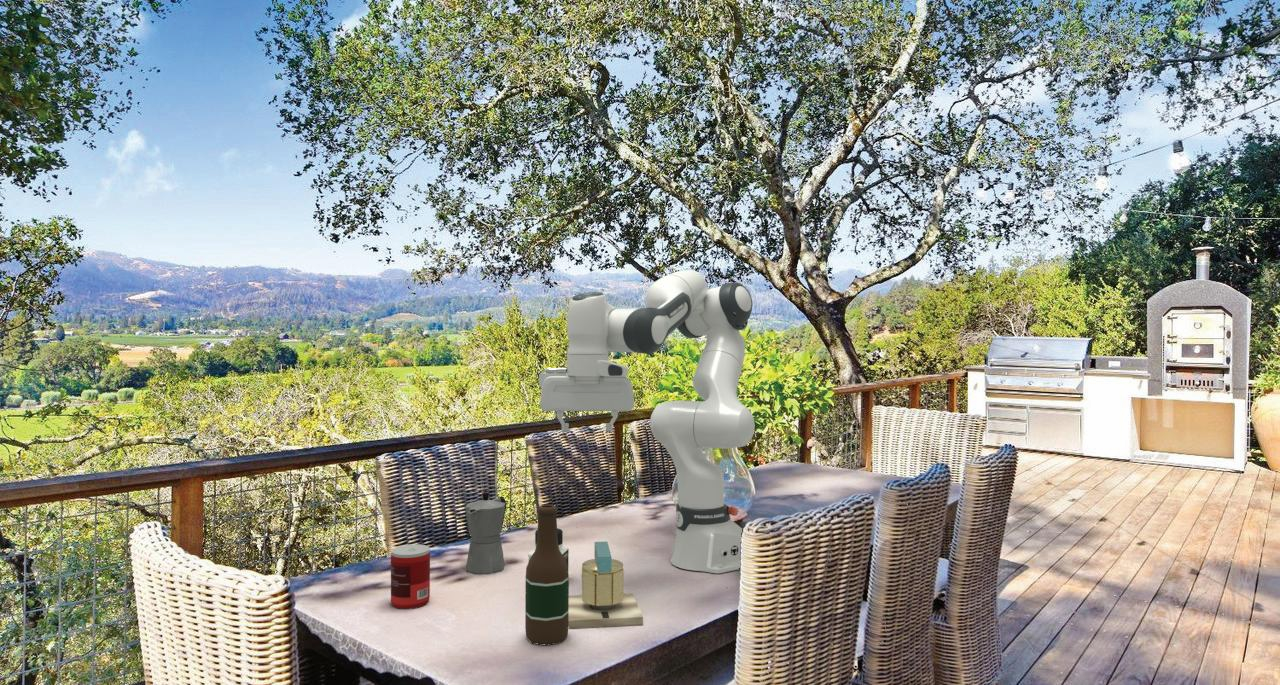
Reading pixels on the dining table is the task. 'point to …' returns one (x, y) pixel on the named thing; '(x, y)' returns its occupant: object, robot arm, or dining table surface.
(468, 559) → the coffeepot
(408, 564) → the canned food
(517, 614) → the dining table surface
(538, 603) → the beer bottle
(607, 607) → the square recessed plate
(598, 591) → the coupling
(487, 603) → the dining table surface
